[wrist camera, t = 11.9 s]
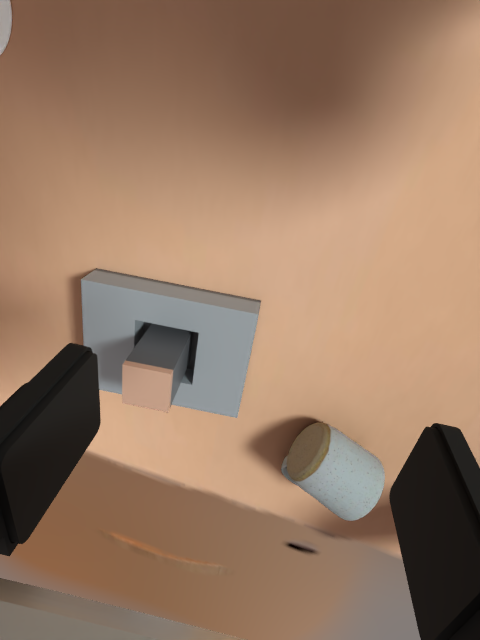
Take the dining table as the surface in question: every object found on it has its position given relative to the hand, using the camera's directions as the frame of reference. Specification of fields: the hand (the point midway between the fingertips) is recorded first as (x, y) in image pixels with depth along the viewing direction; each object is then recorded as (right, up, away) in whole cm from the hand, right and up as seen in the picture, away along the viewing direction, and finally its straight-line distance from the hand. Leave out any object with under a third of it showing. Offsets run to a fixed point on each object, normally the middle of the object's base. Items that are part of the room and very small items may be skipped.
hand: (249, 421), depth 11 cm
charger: (-7, +1, +27) cm, 28 cm away
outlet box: (-7, +1, +28) cm, 28 cm away
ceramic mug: (+9, -12, +32) cm, 36 cm away
